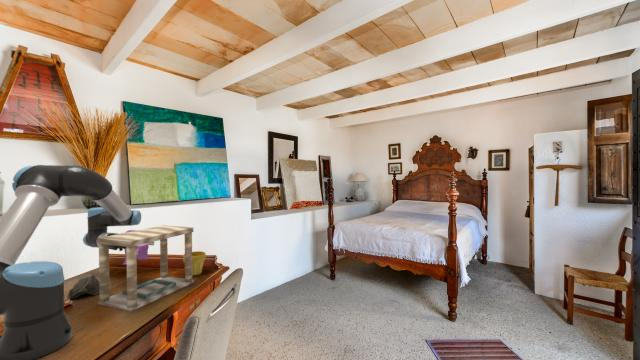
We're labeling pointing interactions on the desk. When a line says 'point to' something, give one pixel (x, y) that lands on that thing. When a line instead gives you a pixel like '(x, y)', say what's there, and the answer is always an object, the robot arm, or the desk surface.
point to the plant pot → (197, 261)
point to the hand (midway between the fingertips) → (144, 244)
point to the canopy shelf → (148, 290)
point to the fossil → (85, 286)
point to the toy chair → (139, 251)
